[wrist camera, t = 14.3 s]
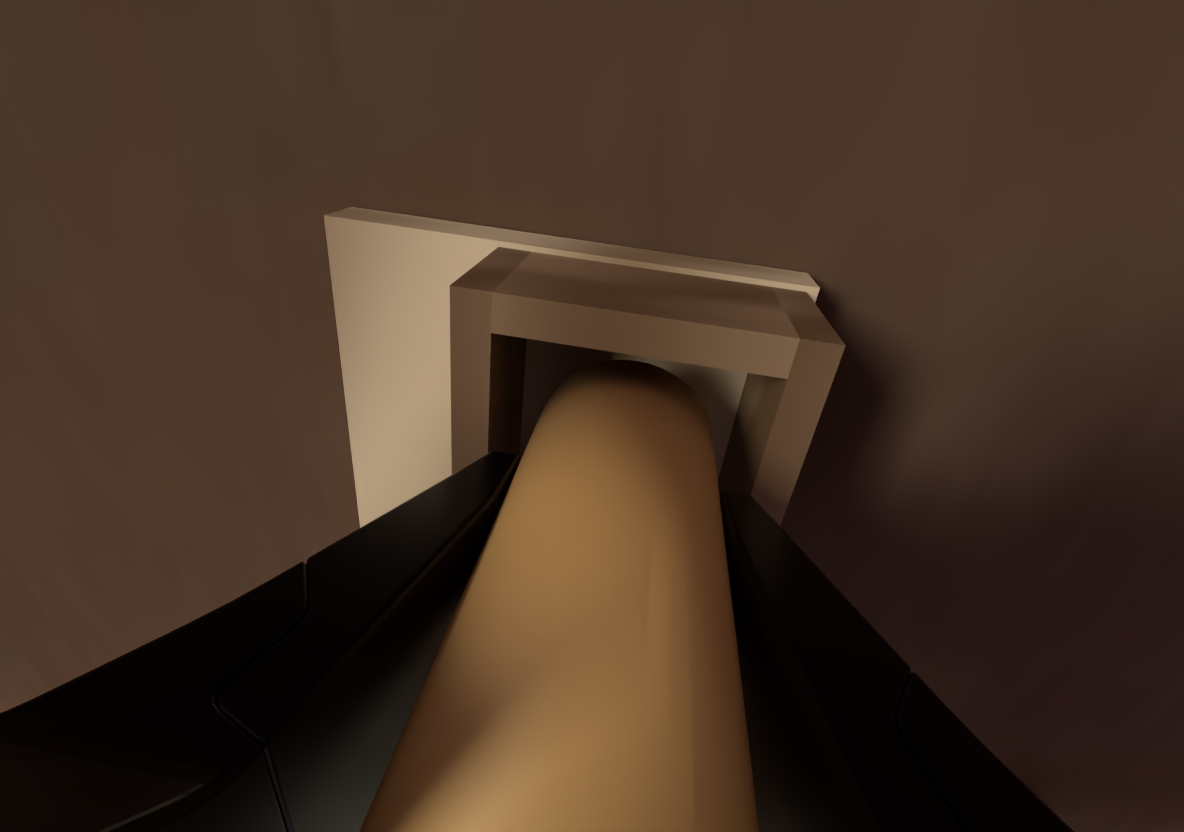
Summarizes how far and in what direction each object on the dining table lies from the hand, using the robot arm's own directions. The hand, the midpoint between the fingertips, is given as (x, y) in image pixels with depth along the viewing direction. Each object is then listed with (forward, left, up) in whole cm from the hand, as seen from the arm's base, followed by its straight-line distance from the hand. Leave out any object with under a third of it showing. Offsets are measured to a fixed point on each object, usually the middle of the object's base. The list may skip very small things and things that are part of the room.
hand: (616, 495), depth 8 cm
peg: (0, 0, -2) cm, 2 cm away
